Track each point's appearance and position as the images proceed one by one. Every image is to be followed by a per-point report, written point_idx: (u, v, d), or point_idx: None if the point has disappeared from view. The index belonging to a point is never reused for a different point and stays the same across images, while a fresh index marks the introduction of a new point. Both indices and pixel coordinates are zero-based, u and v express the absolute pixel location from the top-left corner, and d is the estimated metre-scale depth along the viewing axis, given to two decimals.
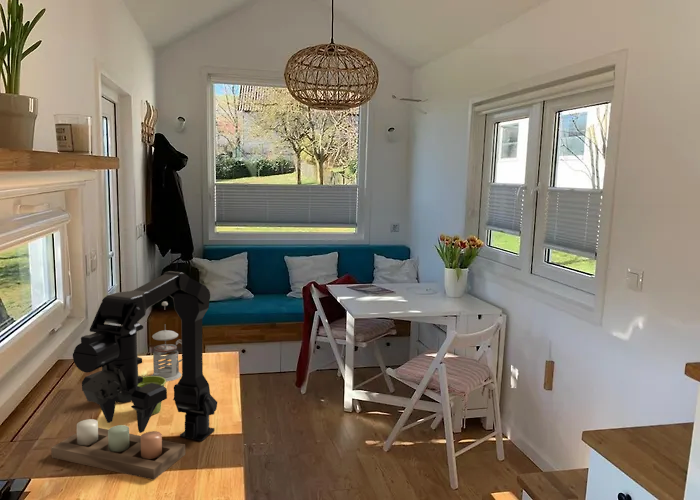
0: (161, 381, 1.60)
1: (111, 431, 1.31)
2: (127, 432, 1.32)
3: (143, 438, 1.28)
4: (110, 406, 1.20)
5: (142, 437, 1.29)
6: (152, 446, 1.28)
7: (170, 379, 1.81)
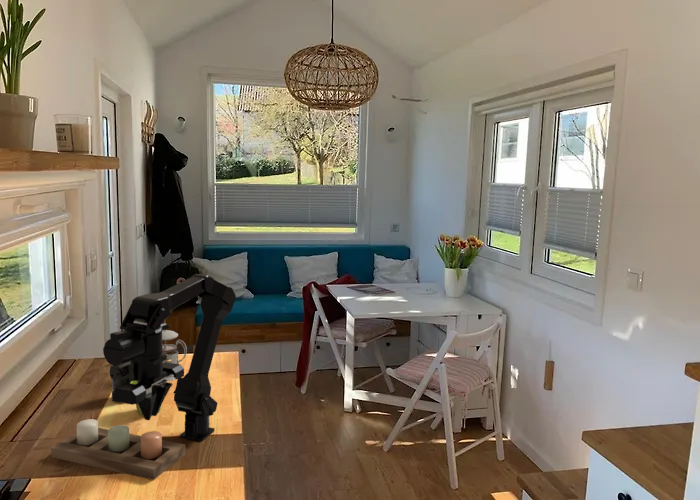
0: None
1: (111, 431, 1.31)
2: (127, 432, 1.32)
3: (143, 438, 1.28)
4: (155, 401, 1.30)
5: (142, 437, 1.29)
6: (152, 446, 1.28)
7: (170, 379, 1.81)
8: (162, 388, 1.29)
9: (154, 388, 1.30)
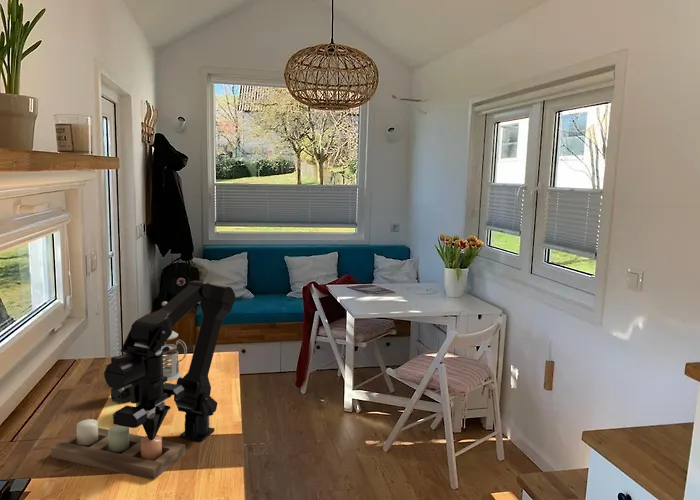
0: None
1: (111, 431, 1.31)
2: (127, 432, 1.32)
3: (143, 441, 1.28)
4: None
5: (142, 440, 1.29)
6: (152, 450, 1.28)
7: (170, 379, 1.81)
8: (160, 411, 1.29)
9: None
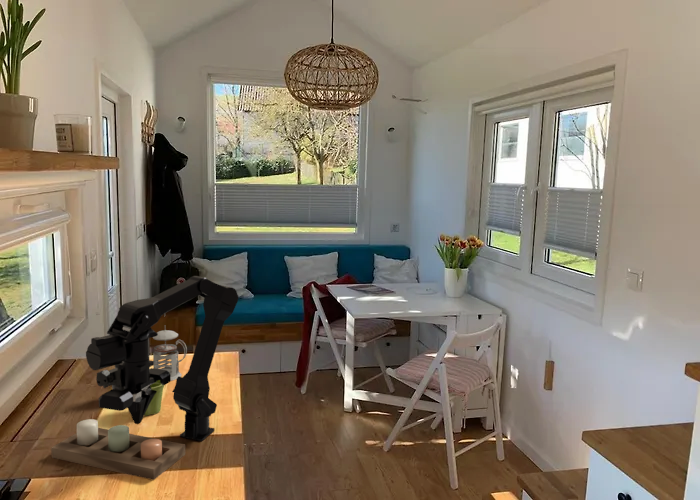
0: None
1: (111, 431, 1.31)
2: (127, 432, 1.32)
3: (143, 446, 1.29)
4: None
5: (142, 445, 1.29)
6: (152, 454, 1.28)
7: None
8: (146, 395, 1.29)
9: None
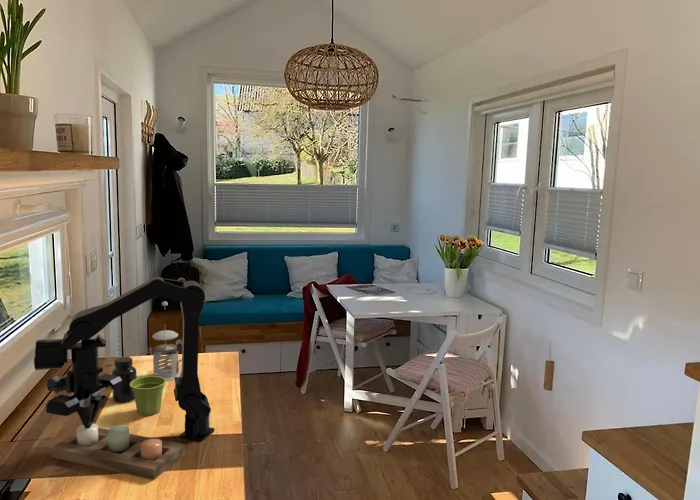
0: (161, 381, 1.60)
1: (111, 431, 1.31)
2: (127, 432, 1.32)
3: (143, 446, 1.29)
4: None
5: (142, 445, 1.29)
6: (152, 454, 1.28)
7: (170, 379, 1.81)
8: (96, 401, 1.34)
9: None
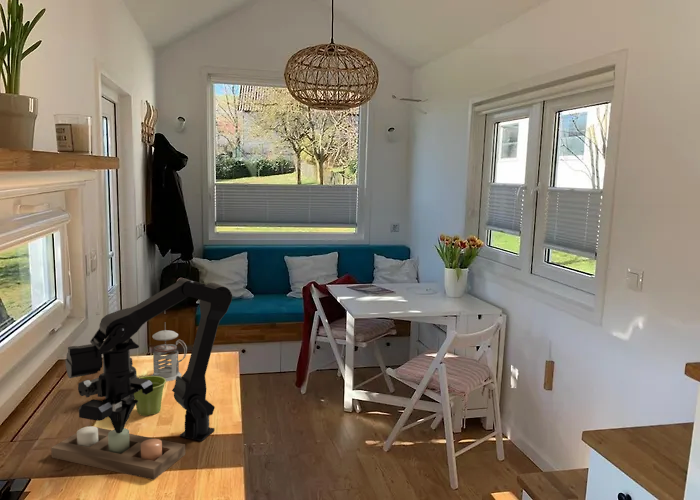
0: (161, 381, 1.60)
1: (111, 434, 1.31)
2: (127, 435, 1.32)
3: (143, 446, 1.29)
4: None
5: (142, 445, 1.29)
6: (152, 454, 1.28)
7: (170, 379, 1.81)
8: (127, 405, 1.32)
9: None
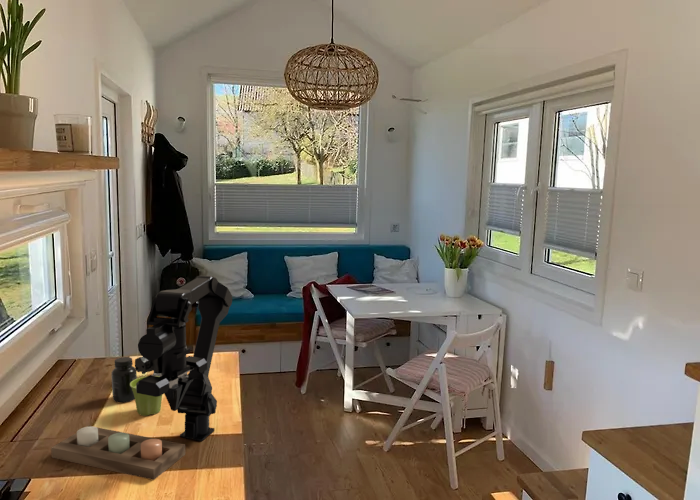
0: None
1: (111, 438, 1.32)
2: (127, 439, 1.32)
3: (143, 446, 1.29)
4: None
5: (142, 445, 1.29)
6: (152, 454, 1.28)
7: None
8: (183, 383, 1.30)
9: None
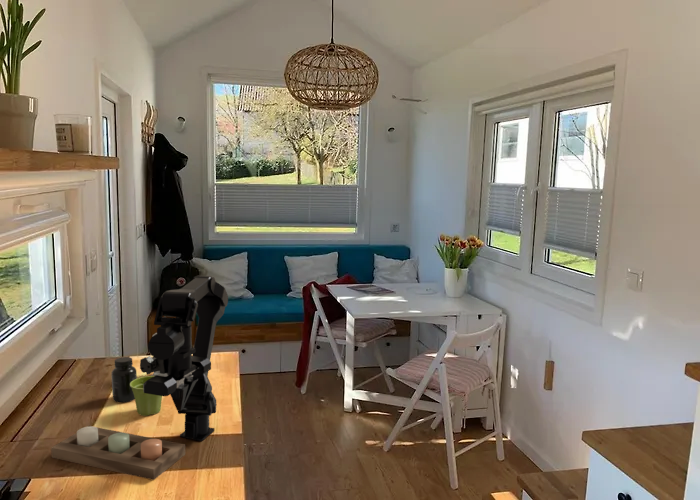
0: None
1: (111, 438, 1.32)
2: (127, 439, 1.32)
3: (143, 446, 1.29)
4: None
5: (142, 445, 1.29)
6: (152, 454, 1.28)
7: None
8: (188, 382, 1.30)
9: None
